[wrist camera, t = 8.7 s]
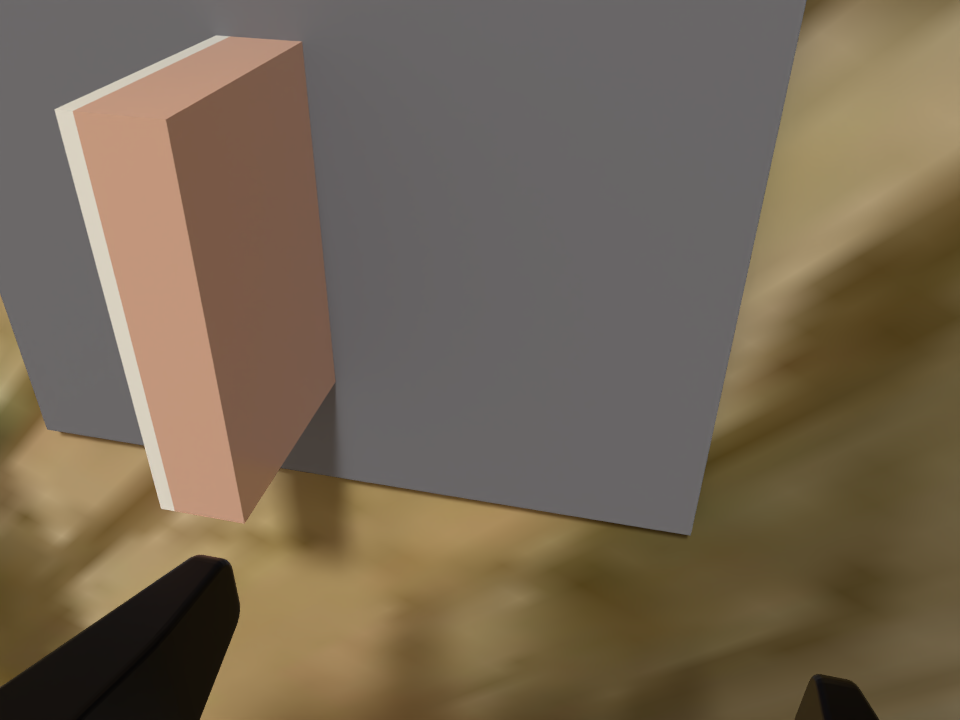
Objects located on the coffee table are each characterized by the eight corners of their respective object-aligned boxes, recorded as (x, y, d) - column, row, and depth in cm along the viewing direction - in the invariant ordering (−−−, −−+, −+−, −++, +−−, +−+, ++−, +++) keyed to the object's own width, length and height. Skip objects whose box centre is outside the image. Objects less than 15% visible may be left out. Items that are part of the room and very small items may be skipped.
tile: (301, 41, 16) (165, 119, 12) (335, 381, 20) (244, 523, 16) (216, 35, 16) (54, 109, 12) (267, 372, 21) (161, 508, 17)
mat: (861, -273, 12) (865, -276, 12) (690, 524, 21) (690, 535, 21) (-178, -273, 15) (-197, -275, 15) (56, 421, 24) (47, 429, 24)
